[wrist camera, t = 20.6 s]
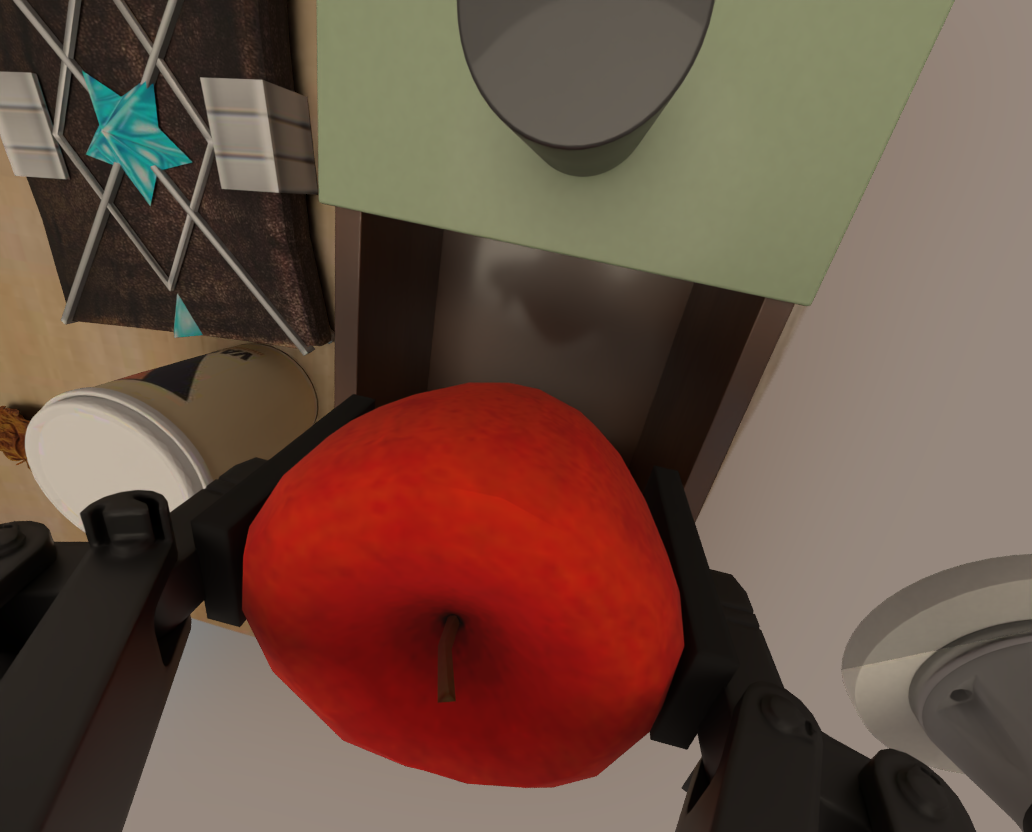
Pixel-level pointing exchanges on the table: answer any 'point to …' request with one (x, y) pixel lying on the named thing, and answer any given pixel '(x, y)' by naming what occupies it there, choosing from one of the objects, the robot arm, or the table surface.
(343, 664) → the apple
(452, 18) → the slide lid
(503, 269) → the slide box
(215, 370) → the coffee cup
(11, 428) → the leaf
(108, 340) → the table surface
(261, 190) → the book
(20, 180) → the table surface
